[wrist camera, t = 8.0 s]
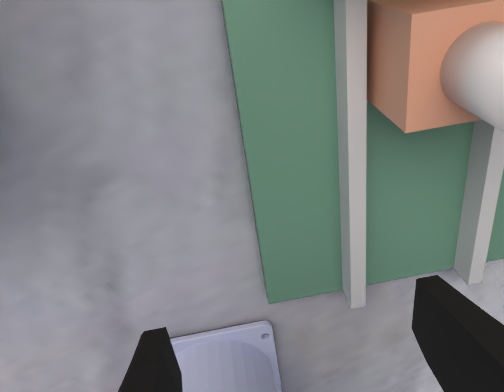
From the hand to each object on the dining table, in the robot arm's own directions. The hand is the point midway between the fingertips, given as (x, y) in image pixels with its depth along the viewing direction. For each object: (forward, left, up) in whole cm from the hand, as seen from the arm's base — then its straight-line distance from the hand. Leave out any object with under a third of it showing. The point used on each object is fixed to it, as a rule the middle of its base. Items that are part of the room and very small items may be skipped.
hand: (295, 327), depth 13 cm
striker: (+5, -8, -9) cm, 13 cm away
